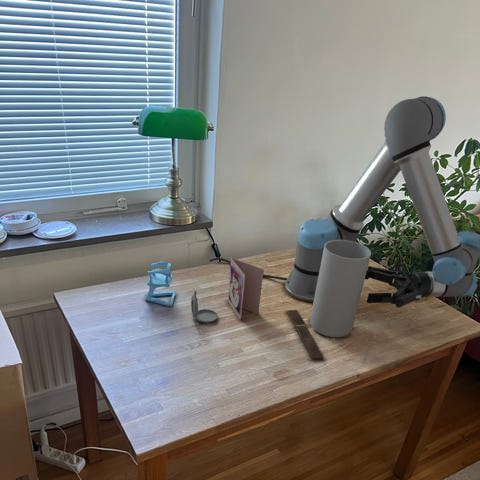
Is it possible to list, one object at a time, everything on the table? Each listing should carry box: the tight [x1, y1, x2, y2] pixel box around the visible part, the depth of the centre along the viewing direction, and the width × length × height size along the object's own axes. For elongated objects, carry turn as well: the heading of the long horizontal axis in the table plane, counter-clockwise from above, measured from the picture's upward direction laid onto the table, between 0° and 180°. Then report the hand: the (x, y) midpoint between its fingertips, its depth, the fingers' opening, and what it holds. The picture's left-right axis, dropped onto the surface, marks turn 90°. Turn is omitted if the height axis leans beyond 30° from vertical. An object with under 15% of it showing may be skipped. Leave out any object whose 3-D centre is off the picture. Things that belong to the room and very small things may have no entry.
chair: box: [145, 261, 176, 307], centre depth 142 cm, size 8×8×12 cm
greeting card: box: [227, 257, 265, 321], centre depth 140 cm, size 11×7×15 cm, turn 21°
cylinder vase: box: [309, 240, 372, 338], centre depth 133 cm, size 12×12×25 cm
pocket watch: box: [190, 287, 218, 324], centre depth 136 cm, size 8×8×10 cm
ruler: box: [286, 309, 324, 361], centre depth 135 cm, size 24×3×1 cm, turn 11°
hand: (357, 286), depth 134 cm, fingers open, 13 cm apart
